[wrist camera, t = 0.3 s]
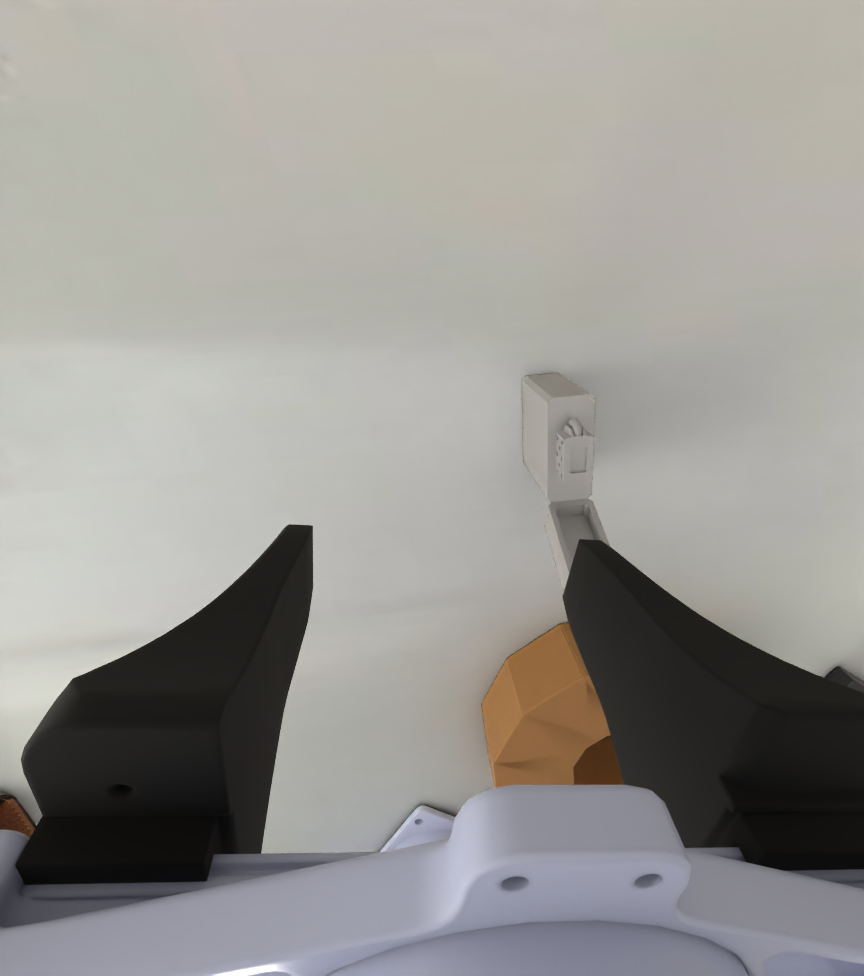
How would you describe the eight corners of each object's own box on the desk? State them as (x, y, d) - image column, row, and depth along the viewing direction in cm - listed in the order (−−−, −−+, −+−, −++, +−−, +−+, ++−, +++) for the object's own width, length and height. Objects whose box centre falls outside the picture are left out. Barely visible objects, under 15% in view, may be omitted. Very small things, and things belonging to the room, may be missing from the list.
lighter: (522, 376, 23) (580, 426, 16) (561, 372, 23) (638, 420, 16) (524, 522, 26) (575, 624, 18) (559, 519, 26) (624, 619, 18)
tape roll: (740, 716, 32) (785, 776, 28) (560, 817, 34) (580, 884, 30) (635, 574, 27) (673, 621, 24) (438, 701, 30) (444, 762, 26)
